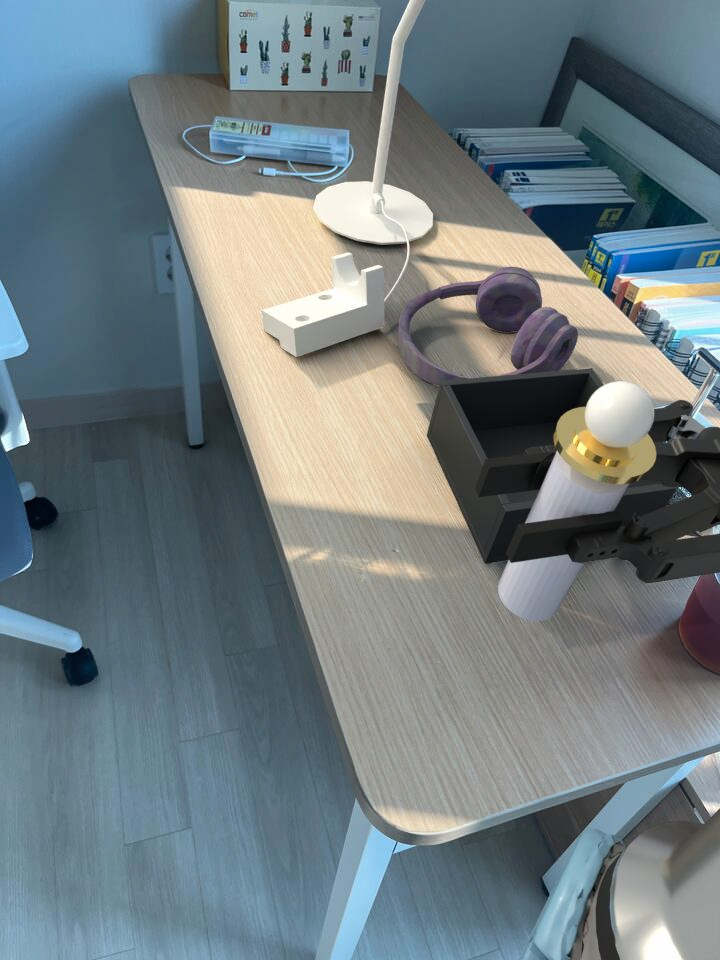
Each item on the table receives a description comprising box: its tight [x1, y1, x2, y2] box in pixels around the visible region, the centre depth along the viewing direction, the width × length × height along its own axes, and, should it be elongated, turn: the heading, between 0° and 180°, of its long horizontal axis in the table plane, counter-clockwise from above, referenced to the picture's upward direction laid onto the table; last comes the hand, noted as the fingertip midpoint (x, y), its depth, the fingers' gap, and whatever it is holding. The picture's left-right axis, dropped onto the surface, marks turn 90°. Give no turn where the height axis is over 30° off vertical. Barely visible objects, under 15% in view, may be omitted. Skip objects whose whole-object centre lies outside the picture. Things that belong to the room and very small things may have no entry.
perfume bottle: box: [497, 380, 656, 622], centre depth 47 cm, size 6×6×20 cm
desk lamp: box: [312, 0, 434, 304], centre depth 92 cm, size 37×18×45 cm, turn 14°
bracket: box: [261, 251, 385, 358], centre depth 91 cm, size 13×7×8 cm, turn 127°
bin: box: [426, 367, 678, 565], centre depth 76 cm, size 18×18×8 cm
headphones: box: [398, 266, 579, 387], centre depth 91 cm, size 18×8×20 cm
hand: (498, 510), depth 45 cm, fingers closed on perfume bottle, 4 cm apart
